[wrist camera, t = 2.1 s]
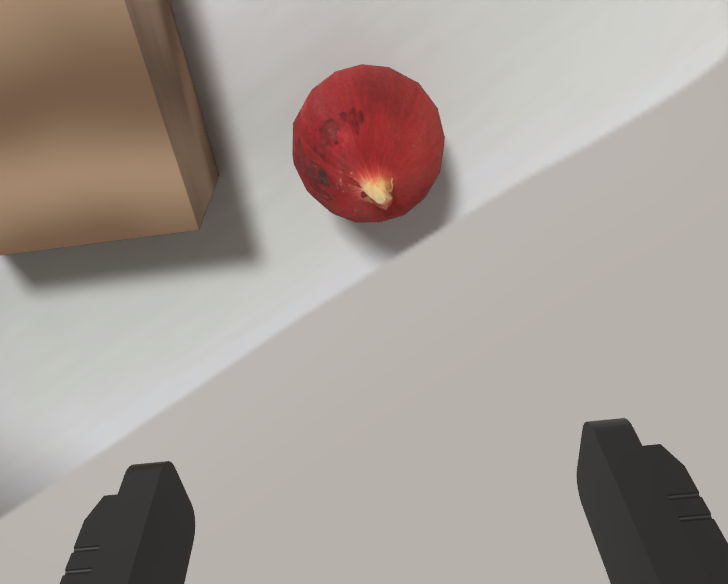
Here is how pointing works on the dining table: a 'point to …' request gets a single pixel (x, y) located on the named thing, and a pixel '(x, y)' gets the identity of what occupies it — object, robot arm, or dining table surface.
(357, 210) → the onion
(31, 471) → the dining table surface
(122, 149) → the walnut base
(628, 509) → the robot arm
